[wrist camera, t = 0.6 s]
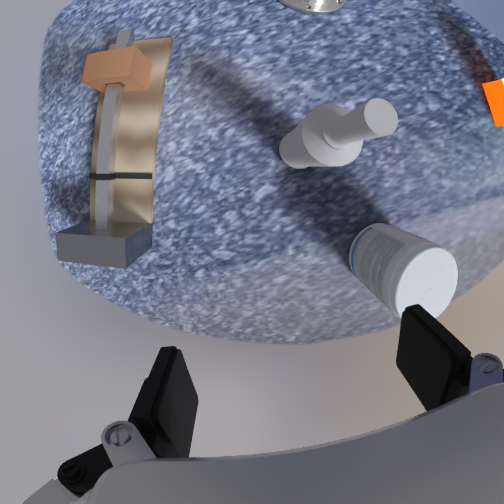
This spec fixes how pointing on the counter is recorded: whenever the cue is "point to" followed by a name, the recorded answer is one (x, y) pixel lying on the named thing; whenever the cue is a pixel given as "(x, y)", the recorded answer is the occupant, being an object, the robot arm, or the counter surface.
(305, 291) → the counter surface
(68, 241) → the slider rail assembly
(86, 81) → the tan notched block
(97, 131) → the base board
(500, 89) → the orange juice
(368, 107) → the bottle
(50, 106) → the counter surface
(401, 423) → the robot arm
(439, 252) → the supplement tub
